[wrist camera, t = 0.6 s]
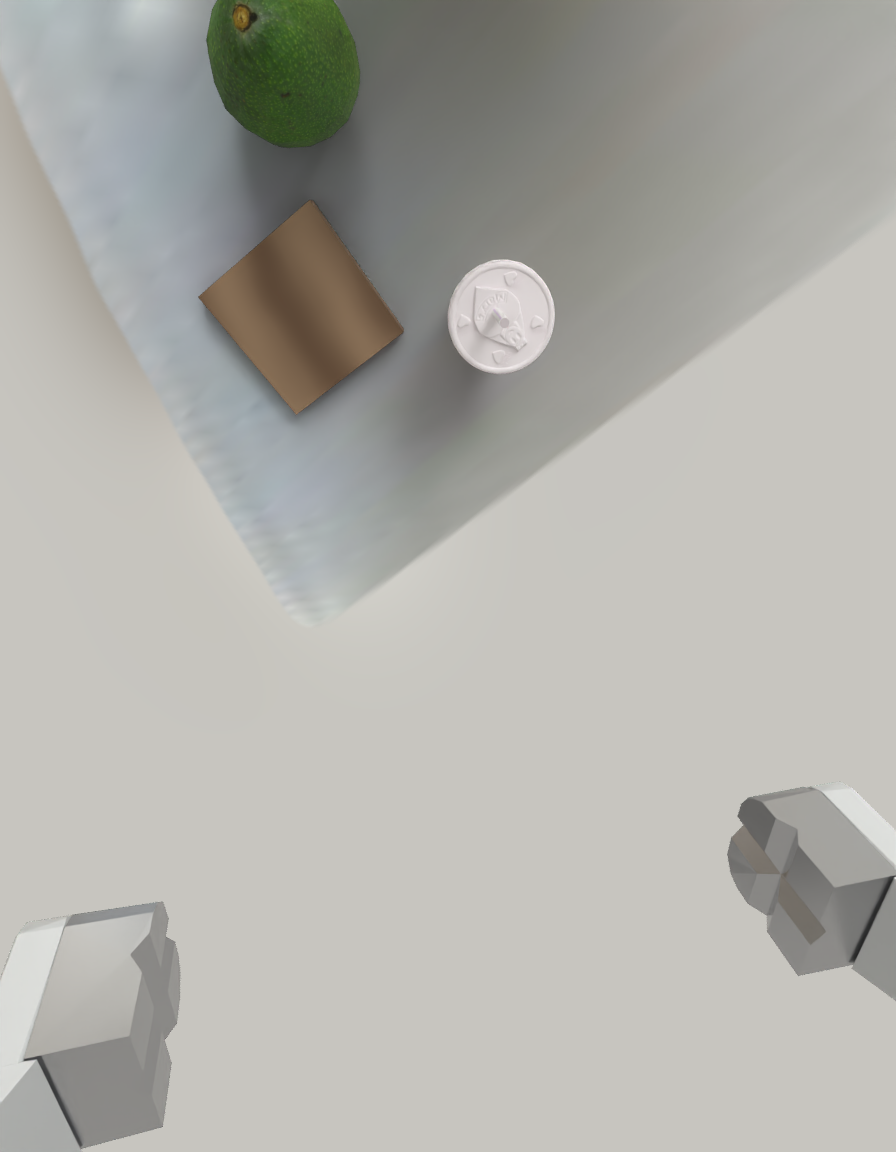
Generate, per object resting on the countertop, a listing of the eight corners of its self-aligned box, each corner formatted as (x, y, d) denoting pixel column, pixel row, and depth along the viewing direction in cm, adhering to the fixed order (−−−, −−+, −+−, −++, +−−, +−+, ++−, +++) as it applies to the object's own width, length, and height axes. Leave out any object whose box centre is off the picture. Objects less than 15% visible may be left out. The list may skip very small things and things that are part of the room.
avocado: (309, -36, 39) (268, -130, 28) (388, 102, 42) (378, 64, 31) (206, 57, 40) (131, 2, 30) (289, 182, 44) (249, 172, 33)
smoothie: (493, 230, 46) (521, 236, 33) (549, 305, 48) (594, 337, 36) (424, 296, 47) (426, 325, 35) (481, 366, 50) (502, 415, 38)
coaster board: (312, 200, 44) (309, 199, 43) (403, 329, 48) (403, 332, 47) (204, 294, 47) (198, 296, 45) (299, 409, 51) (296, 414, 50)
